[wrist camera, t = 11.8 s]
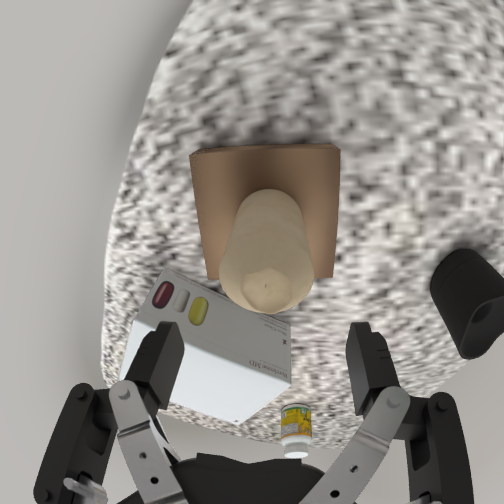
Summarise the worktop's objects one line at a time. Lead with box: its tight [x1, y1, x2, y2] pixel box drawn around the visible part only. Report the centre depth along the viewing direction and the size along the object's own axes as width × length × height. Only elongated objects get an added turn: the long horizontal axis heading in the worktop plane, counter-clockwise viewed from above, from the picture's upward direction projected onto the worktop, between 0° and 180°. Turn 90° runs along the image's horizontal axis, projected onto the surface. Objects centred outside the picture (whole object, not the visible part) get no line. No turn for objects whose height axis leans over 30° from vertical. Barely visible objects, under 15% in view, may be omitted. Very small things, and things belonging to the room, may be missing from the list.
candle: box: [219, 189, 314, 314], centre depth 19 cm, size 6×6×10 cm
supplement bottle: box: [281, 404, 312, 458], centre depth 40 cm, size 5×5×10 cm
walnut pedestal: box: [189, 144, 340, 279], centre depth 25 cm, size 12×12×3 cm
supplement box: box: [118, 268, 292, 425], centre depth 31 cm, size 17×13×9 cm
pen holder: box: [431, 249, 504, 360], centre depth 24 cm, size 9×9×10 cm
